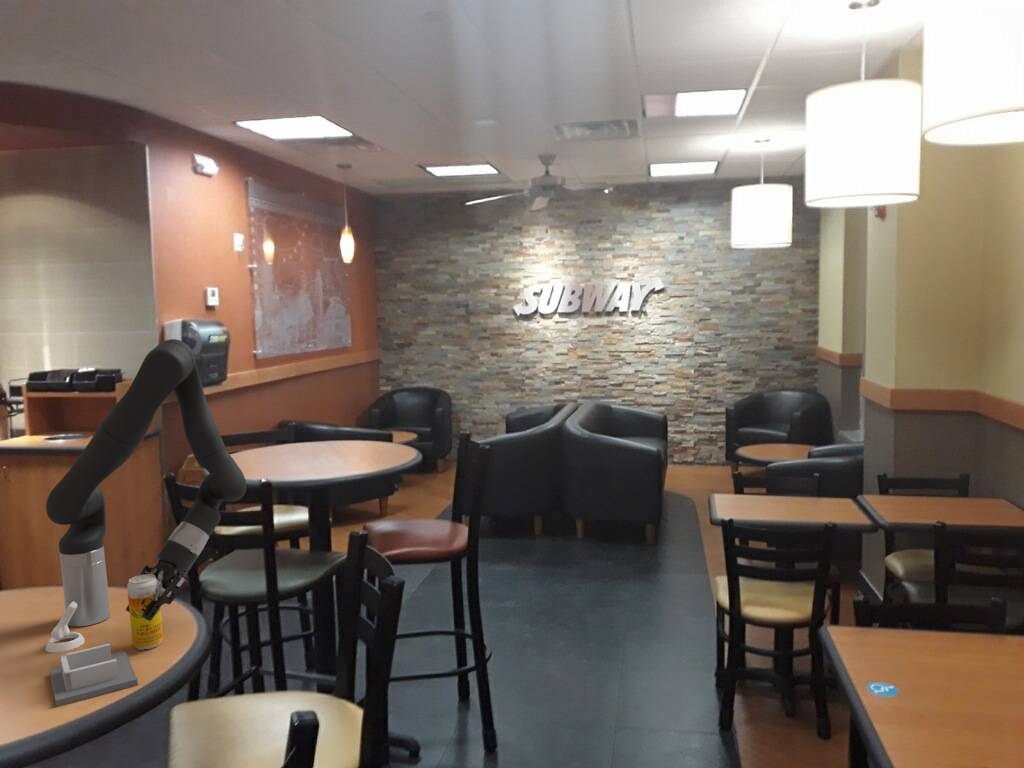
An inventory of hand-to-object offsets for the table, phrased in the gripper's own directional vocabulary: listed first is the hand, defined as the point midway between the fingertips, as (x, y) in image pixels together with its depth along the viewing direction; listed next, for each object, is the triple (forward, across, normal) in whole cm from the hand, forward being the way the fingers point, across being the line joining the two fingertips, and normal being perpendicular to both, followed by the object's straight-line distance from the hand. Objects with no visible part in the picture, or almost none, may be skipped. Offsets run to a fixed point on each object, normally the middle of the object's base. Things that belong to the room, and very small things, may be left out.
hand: (137, 615), depth 177 cm
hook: (+11, -16, 0) cm, 20 cm away
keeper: (+15, +6, -4) cm, 16 cm away
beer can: (+4, 0, +6) cm, 8 cm away
